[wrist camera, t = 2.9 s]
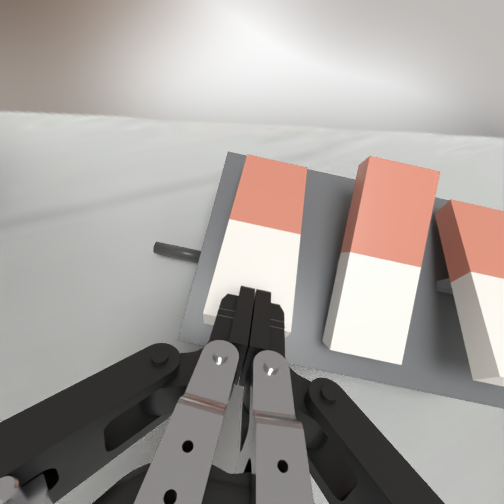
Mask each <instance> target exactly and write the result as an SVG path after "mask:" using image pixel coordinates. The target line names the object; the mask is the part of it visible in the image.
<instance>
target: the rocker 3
mask: <svg viewBox="0 0 504 504" xmlns="http://www.w3.org/2000/svg"><path fill="white" fill-rule="evenodd" d="M435 217H436V221H437V226H438V230H439V234H440V239H441V243H442V247H443V252H444V256H445V260H446V265H447V269H448V273H449V278H450V282H451V287H452V291H453V295H454V300H455V304H456V308H457V313H458V317H459V321H460V326H461V330H462V334H463V339H464V343H465V347H466V352H467V356H468V361H469V365H470V369H471V374H472V378H473V380H475V381H479V382H484V383H489V384H494V385H498V386H503V387H504V211H500V210H495V209H491V208H486V207H482V206H477V205H473V204H468V203H464V202H459V201H455V200H450V201H449V202H447V203H446V204H445V205H444V206H443V207H442V208H441V209H440V210H439V211H437V212H436V213H435Z"/></svg>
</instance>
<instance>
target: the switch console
mask: <svg viewBox="0 0 504 504" xmlns="http://www.w3.org/2000/svg"><path fill="white" fill-rule="evenodd" d="M246 157H247V156H246V155H241V154H237V153H232V152H228V153H227V157H226V161H225V164H224V168H223V172H222V176H221V179H220V183H219V187H218V191H217V194H216V198H215V202H214V206H213V209H212V213H211V217H210V221H209V224H208V228H207V232H206V236H205V239H204V243H203V247H202V251H197V250H193V249H188V248H184V247H179V246H174V245H170V244H165V243H160V242H156V243H155V245H154V253H157V254H162V255H166V256H171V257H176V258H180V259H185V260H190V261H194V262H198V266H197V269H196V273H195V277H194V281H193V284H192V288H191V292H190V296H189V299H188V303H187V307H186V311H185V314H184V318H183V322H182V326H181V329H180V333H179V337H178V340H179V341H184V342H189V343H193V344H198V345H203V346H206V344H207V343H208V341H209V339H210V336H211V332H212V329H213V326H214V325H210V324H205V323H204V319H203V312H204V308H205V304H206V301H207V297H208V294H209V290H210V286H211V283H212V279H213V276H214V272H215V268H216V265H217V261H218V258H219V254H220V251H221V247H222V243H223V240H224V236H225V233H226V229H227V225H228V222H229V218H230V215H231V211H232V207H233V204H234V200H235V197H236V193H237V189H238V186H239V182H240V179H241V175H242V171H243V168H244V164H245V161H246ZM355 181H356V180H354V179H350V178H345V177H341V176H336V175H332V174H327V173H322V172H318V171H313V170H309V169H307V176H306V186H305V196H304V206H303V216H302V226H301V236H300V246H299V256H298V266H297V276H296V286H295V297H294V307H293V317H292V327H291V333H290V334H289V335H288V336H287V337H286V338H285V358H286V361H287V362H288V363H289V364H293V365H298V366H303V367H308V368H313V369H317V370H322V371H327V372H332V373H336V374H341V375H346V376H351V377H355V378H360V379H365V380H370V381H375V382H379V383H384V384H389V385H394V386H398V387H403V388H408V389H413V390H417V391H422V392H427V393H432V394H437V395H441V396H446V397H451V398H456V399H460V400H465V401H470V402H475V403H480V404H484V405H489V406H494V407H499V408H503V409H504V387H503V386H498V385H494V384H489V383H484V382H479V381H475V380H473V378H472V374H471V369H470V365H469V361H468V356H467V352H466V347H465V343H464V339H463V334H462V330H461V326H460V321H459V317H458V313H457V308H456V304H455V300H454V295H453V291H452V287H451V282H450V278H449V273H448V269H447V265H446V260H445V256H444V252H443V247H442V243H441V239H440V234H439V230H438V226H437V221H436V217H435V213H436V212H437V211H439V210H440V209H441V208H442V207H443V206H444V205H445V204H446V203H447V202H449V200H445V199H440V198H435V200H434V205H433V210H432V215H431V220H430V225H429V230H428V235H427V240H426V245H425V250H424V255H423V260H422V265H421V270H420V275H419V280H418V285H417V290H416V295H415V300H414V305H413V310H412V315H411V320H410V325H409V330H408V335H407V340H406V345H405V350H404V355H403V360H402V365H399V364H394V363H390V362H385V361H380V360H375V359H371V358H366V357H361V356H356V355H352V354H347V353H342V352H337V351H333V350H330V349H329V348H328V347H327V346H326V345H325V344H324V343H323V342H322V340H323V336H324V331H325V326H326V321H327V316H328V311H329V307H330V302H331V297H332V292H333V287H334V283H335V278H336V273H337V268H338V263H339V258H340V254H341V249H342V244H343V239H344V234H345V230H346V225H347V220H348V215H349V210H350V205H351V201H352V196H353V191H354V186H355Z"/></svg>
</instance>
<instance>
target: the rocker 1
mask: <svg viewBox="0 0 504 504" xmlns="http://www.w3.org/2000/svg"><path fill="white" fill-rule="evenodd" d="M306 176H307V168H306V167H302V166H297V165H293V164H288V163H284V162H279V161H275V160H270V159H266V158H261V157H257V156H252V155H247V157H246V161H245V164H244V168H243V171H242V175H241V179H240V182H239V186H238V189H237V193H236V197H235V200H234V204H233V207H232V211H231V215H230V218H229V222H228V225H227V229H226V233H225V236H224V240H223V243H222V247H221V251H220V254H219V258H218V261H217V265H216V268H215V272H214V276H213V279H212V283H211V286H210V290H209V294H208V297H207V301H206V304H205V308H204V312H203V319H204V323H205V324H210V325H214V322H215V319H216V316H217V312H218V309H219V306H220V303H221V299H222V298H224V297H225V296H226V295H227V294H232V295H237V296H239V292H240V287H241V286H245V287H250V288H255V292H256V289H260V290H264V291H269V292H271V303H274V304H279V305H280V306H281V308H282V310H283V311H284V323H285V329H284V330H285V338H286V337H287V336H288V335H289V334H290V333H291V327H292V317H293V307H294V297H295V286H296V276H297V266H298V256H299V246H300V236H301V226H302V216H303V206H304V196H305V186H306Z"/></svg>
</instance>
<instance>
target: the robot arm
mask: <svg viewBox="0 0 504 504" xmlns="http://www.w3.org/2000/svg"><path fill="white" fill-rule="evenodd" d="M284 329H285V323H284V311H283V310H282V308H281V306H280V305H279V304H274V303H271V292H269V291H264V290H260V289H256V292H255V288H250V287H245V286H241V287H240V292H239V296H237V295H232V294H227V295H226V296H225V297H224V298H222V299H221V303H220V306H219V309H218V312H217V316H216V319H215V322H214V326H213V329H212V332H211V336H210V339H209V341H208V343H207V344H206V346H205V347H203V348H202V349H200V350H198V351H195V352H190V353H179V352H178V350H177V349H176V348H175V347H174V346H172V345H170V344H166V343H158V344H153V345H151V346H149V347H147V348H145V349H143V350H141V351H139V352H137V353H135V354H133V355H131V356H129V357H127V358H125V359H123V360H121V361H119V362H117V363H115V364H114V365H112V366H110V367H108V368H106V369H104V370H102V371H100V372H98V373H96V374H94V375H92V376H90V377H88V378H86V379H84V380H82V381H80V382H78V383H76V384H74V385H73V386H71V387H69V388H67V389H65V390H63V391H61V392H59V393H57V394H55V395H53V396H51V397H49V398H47V399H45V400H43V401H41V402H39V403H37V404H35V405H34V406H32V407H30V408H28V409H26V410H24V411H22V412H20V413H18V414H16V415H14V416H12V417H10V418H8V419H6V420H4V421H2V422H0V504H54V503H55V502H56V501H58V500H59V499H60V498H62V497H63V496H64V495H66V494H67V493H69V492H70V491H71V490H73V489H74V488H75V487H77V486H78V485H79V484H81V483H82V482H83V481H85V480H86V479H87V478H89V477H90V476H91V475H93V474H94V473H95V472H97V471H98V470H99V469H101V468H102V467H103V466H105V465H106V464H107V463H109V462H110V461H111V460H113V459H114V458H115V457H117V456H118V455H119V454H121V453H122V452H123V451H125V450H126V449H127V448H129V447H130V446H131V445H133V444H134V443H135V442H137V441H138V440H139V439H141V438H142V437H143V436H145V435H146V434H147V433H149V432H150V431H151V430H153V429H154V428H155V427H157V426H158V425H159V424H161V423H162V422H163V421H165V420H166V419H167V418H169V417H170V415H171V414H172V416H171V418H170V420H169V423H168V425H167V427H166V430H165V432H164V434H163V437H162V439H161V441H160V444H159V446H158V448H157V451H156V453H155V455H154V458H153V460H152V462H151V463H149V464H147V465H144V466H142V467H139V468H137V469H136V470H134V471H132V472H130V473H129V474H127V475H126V476H124V477H123V478H122V479H120V480H119V481H118V482H117V483H116V484H114V485H113V486H112V487H111V488H110V489H109V490H107V491H106V492H105V493H104V494H103V495H102V496H101V497H99V498H98V499H97V500H96V501H95V502H94V503H92V504H314V500H313V493H312V486H311V479H310V474H311V476H312V477H313V479H314V480H315V482H316V483H317V485H318V487H319V488H320V490H321V491H322V493H323V494H324V496H325V498H326V499H327V501H328V502H329V504H445V503H444V502H443V501H442V500H441V499H440V498H439V497H438V496H437V495H436V493H435V492H434V491H433V490H432V489H431V488H430V487H429V486H428V484H427V483H426V482H425V481H424V480H423V479H422V478H421V477H420V476H419V474H418V473H417V472H416V471H415V470H414V469H413V468H412V467H411V465H410V464H409V463H408V462H407V461H406V460H405V459H404V458H403V456H402V455H401V454H400V453H399V452H398V451H397V450H396V449H395V448H394V446H393V445H392V444H391V443H390V442H389V441H388V440H387V439H386V437H385V436H384V435H383V434H382V433H381V432H380V431H379V430H378V429H377V427H376V426H375V425H374V424H373V423H372V422H371V421H370V420H369V418H368V417H367V416H366V415H365V414H364V413H363V412H362V411H361V410H360V408H359V407H358V406H357V405H356V404H355V403H354V402H353V401H352V399H351V398H350V397H349V396H348V395H347V394H346V393H345V392H344V391H343V389H342V388H341V387H340V386H339V385H338V384H336V383H335V382H333V381H332V380H329V379H326V378H317V379H314V380H313V381H312V382H310V381H309V380H307V379H305V378H303V377H301V376H299V375H298V374H296V373H295V372H294V371H293V370H292V369H291V368H290V367H289V364H288V362H287V361H286V358H285V330H284ZM240 372H241V373H240ZM239 376H240V380H239ZM238 380H239V385H241V386H244V393H243V398H242V401H241V406H240V422H239V440H238V457H237V464H236V470H235V474H229V473H227V472H225V471H223V470H221V469H219V468H218V467H216V466H214V465H212V461H213V457H214V453H215V449H216V445H217V442H218V438H219V434H220V430H221V426H222V422H223V418H224V414H225V411H226V407H227V403H228V401H229V400H230V397H231V394H232V390H233V386H234V384H235V385H237V383H238Z"/></svg>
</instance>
